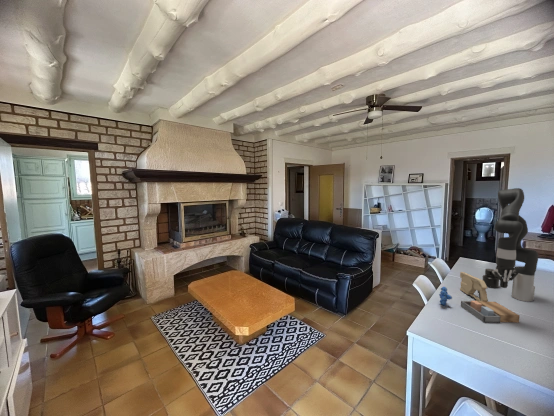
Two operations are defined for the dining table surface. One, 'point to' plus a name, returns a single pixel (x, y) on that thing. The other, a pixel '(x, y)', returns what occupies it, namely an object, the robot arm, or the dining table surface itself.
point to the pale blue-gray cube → (487, 311)
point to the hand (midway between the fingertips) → (503, 287)
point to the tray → (478, 314)
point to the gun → (473, 286)
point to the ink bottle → (490, 279)
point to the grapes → (444, 296)
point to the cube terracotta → (476, 305)
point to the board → (501, 312)
